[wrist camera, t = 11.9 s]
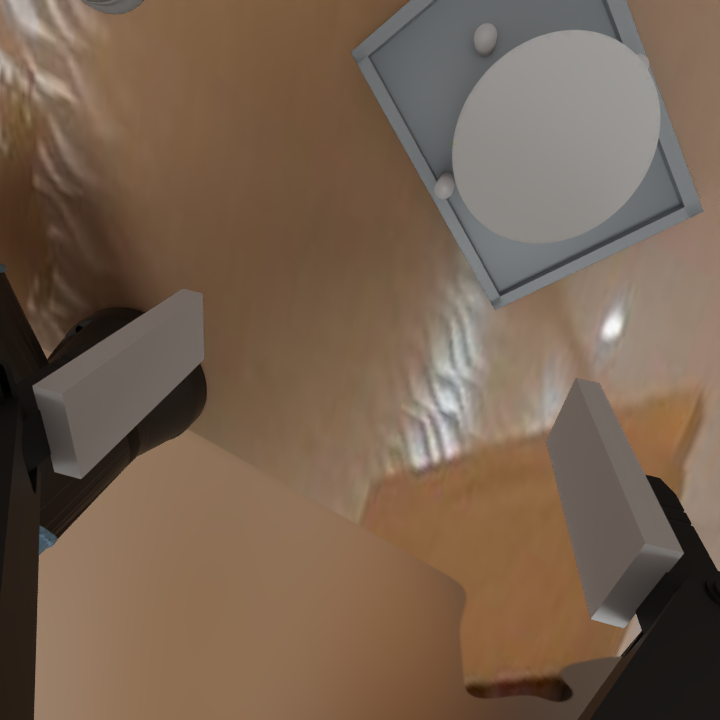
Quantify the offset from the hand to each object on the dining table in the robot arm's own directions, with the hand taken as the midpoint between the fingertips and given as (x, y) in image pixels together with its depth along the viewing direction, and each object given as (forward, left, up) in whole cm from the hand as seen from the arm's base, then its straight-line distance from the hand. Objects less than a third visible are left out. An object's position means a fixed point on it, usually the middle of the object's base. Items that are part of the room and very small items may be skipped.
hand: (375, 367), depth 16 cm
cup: (+4, +8, -21) cm, 23 cm away
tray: (+4, +8, -22) cm, 24 cm away
